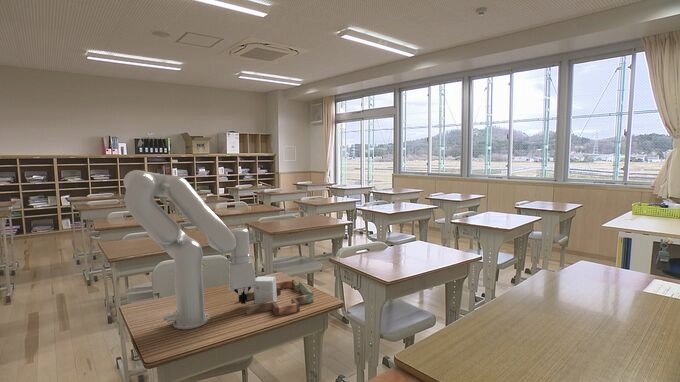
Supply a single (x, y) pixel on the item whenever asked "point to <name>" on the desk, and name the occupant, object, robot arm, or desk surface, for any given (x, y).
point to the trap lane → (287, 308)
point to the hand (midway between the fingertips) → (243, 302)
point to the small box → (265, 289)
